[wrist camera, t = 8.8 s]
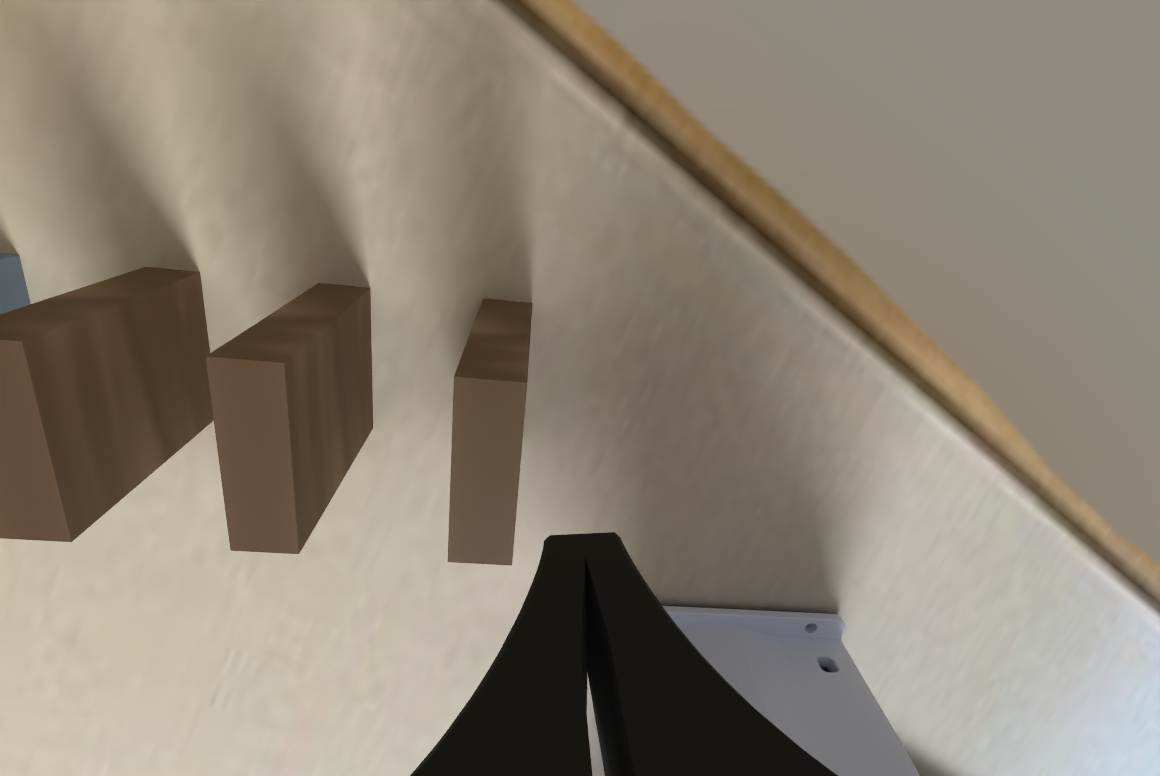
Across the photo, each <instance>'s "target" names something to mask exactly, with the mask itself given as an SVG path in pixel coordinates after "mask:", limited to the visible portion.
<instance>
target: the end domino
mask: <svg viewBox="0 0 1160 776" xmlns="http://www.w3.org/2000/svg"><path fill="white" fill-rule="evenodd" d="M27 305H30V300H29V295H28V291H27V287H26V282H25V278H24V274H23V269H22V265H21V261H20V256H19V255H12V254H2V253H0V314H3V313H6V312H9V311H12V310H15V309H18V308H21V307H24V306H27Z"/></svg>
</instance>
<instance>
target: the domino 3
mask: <svg viewBox="0 0 1160 776" xmlns="http://www.w3.org/2000/svg"><path fill="white" fill-rule="evenodd" d="M531 315H532V303H524V302H514V301H503V300H492V299H483V301H482V303H481V306H480V309H479V311H478V314H477V317H476V320H475V322H474V325H473V328H472V330H471V333H470V336H469V338H468V341H467V344H466V346H465V349H464V352H463V354H462V357H461V360H460V362H459V365H458V368H457V371H456V373H455V376H454V396H453V425H452V454H451V483H450V512H449V541H448V562H458V563H477V564H496V565H512V557H513V545H514V533H515V521H516V509H517V497H518V485H519V473H520V461H521V449H522V437H523V425H524V413H525V401H526V389H527V376H528V361H529V345H530V330H531Z"/></svg>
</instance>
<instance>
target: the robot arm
mask: <svg viewBox="0 0 1160 776" xmlns="http://www.w3.org/2000/svg"><path fill="white" fill-rule="evenodd" d="M808 624H811V625H809V626H807V625H808ZM844 630H845V624H844V622H843V620H842V618H841V617H840V616H838V615H836V614H823V613H802V612H781V611H761V610H740V609H719V608H698V607H677V606H662V605H661V603H660V602H659V601H658V599H657V598H656V596H655V595H654V594H653V592H652V591H651V589H650V588H649V586H648V585H647V583H646V582H645V580H644V579H643V577H642V576H641V574H640V573H639V571H638V569H637V568H636V566H635V565H634V563H633V561H632V559H631V558H630V556H629V554H628V552H627V551H626V549H625V547H624V545H623V543H622V541H621V538H620V537H619V536H618V535H617V534H616V533H615V532H612V533H591V534H570V535H550V536H549V537H548V538H547V539H546V540H545V541H544V546H543V551H542V556H541V559H540V563H539V566H538V569H537V572H536V574H535V577H534V580H533V583H532V585H531V588H530V590H529V592H528V595H527V597H526V599H525V602H524V604H523V606H522V608H521V611H520V613H519V615H518V617H517V619H516V621H515V623H514V625H513V627H512V629H511V631H510V633H509V634H508V636H507V638H506V640H505V642H504V644H503V646H502V648H501V650H500V652H499V653H498V655H497V657H496V658H495V660H494V662H493V664H492V665H491V667H490V669H489V670H488V672H487V674H486V675H485V677H484V678H483V680H482V681H481V683H480V684H479V686H478V688H477V689H476V691H475V692H474V694H473V695H472V697H471V698H470V700H469V701H468V702H467V704H466V705H465V707H464V708H463V709H462V711H461V712H460V714H459V715H458V716H457V718H456V719H455V721H454V722H453V723H452V725H451V726H450V728H449V729H448V730H447V732H446V733H445V734H444V735H443V737H442V738H441V739H440V741H439V742H438V743H437V745H436V746H435V747H434V748H433V750H432V751H431V752H430V753H429V754H428V755H427V757H426V758H425V759H424V760H423V761H422V763H421V764H420V765H419V766H418V767H417V768H416V770H415V771H414V772H413V773H412V774H411V775H410V776H592V768H591V758H590V747H589V737H588V726H587V715H586V711H587V672H588V678H589V684H590V690H591V696H592V702H593V707H594V713H595V719H596V725H597V731H598V737H599V743H600V748H601V754H602V760H603V766H604V772H605V776H919V773H918V771H917V769H916V767H915V766H914V764H913V762H912V760H911V758H910V756H909V755H908V753H907V751H906V750H905V748H904V746H903V744H902V743H901V741H900V739H899V738H898V736H897V734H896V733H895V731H894V729H893V728H892V726H891V724H890V723H889V721H888V719H887V717H886V716H885V714H884V712H883V711H882V709H881V707H880V706H879V704H878V702H877V701H876V699H875V697H874V695H873V694H872V692H871V690H870V689H869V687H868V685H867V684H866V682H865V680H864V679H863V677H862V675H861V673H860V672H859V670H858V668H857V667H856V665H855V663H854V662H853V660H852V658H851V657H850V655H849V653H848V652H847V650H846V648H845V646H844V645H843V643H842V641H841V639H842V636H843V633H844Z"/></svg>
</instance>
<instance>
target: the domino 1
mask: <svg viewBox="0 0 1160 776" xmlns="http://www.w3.org/2000/svg"><path fill="white" fill-rule="evenodd" d="M209 354H210V349H209V341H208V333H207V325H206V317H205V309H204V301H203V293H202V285H201V277H200V272H193V271H182V270H171V269H161V268H150V267H145V268H141V269H138V270H135V271H132V272H129V273H126V274H123V275H120V276H117V277H114V278H111V279H108V280H104V281H101V282H98V283H95V284H92V285H89V286H86V287H83V288H80V289H77V290H74V291H71V292H67V293H64V294H61V295H58V296H55V297H52V298H49V299H46V300H43V301H40V302H37V303H34V304H30V305H27V306H24V307H21V308H18V309H15V310H12V311H9V312H6V313H3V314H0V538H7V539H26V540H44V541H63V542H72V541H73V540H74V539H75V538H77V537H78V536H79V535H80V534H81V533H83V532H84V531H85V530H86V529H87V528H88V527H90V526H91V525H92V524H93V523H94V522H95V521H97V520H98V519H99V518H100V517H101V516H102V515H104V514H105V513H106V512H107V511H108V510H109V509H111V508H112V507H113V506H114V505H115V504H116V503H118V502H119V501H120V500H121V499H122V498H123V497H125V496H126V495H127V494H128V493H129V492H130V491H132V490H133V489H134V488H135V487H136V486H137V485H139V484H140V483H141V482H142V481H143V480H144V479H146V478H147V477H148V476H149V475H150V474H152V473H153V472H154V471H155V470H156V469H157V468H159V467H160V466H161V465H162V464H163V463H164V462H166V461H167V460H168V459H169V458H170V457H171V456H173V455H174V454H175V453H176V452H177V451H178V450H180V449H181V448H182V447H183V446H184V445H185V444H187V443H188V442H189V441H190V440H191V439H192V438H194V437H195V436H196V435H197V434H198V433H199V432H201V431H202V430H203V429H204V428H205V427H206V426H208V425H209V424H210V423H211V422H212V421H213V420H214V417H213V410H212V402H211V394H210V386H209V378H208V371H207V363H206V356H207V355H209Z"/></svg>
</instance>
